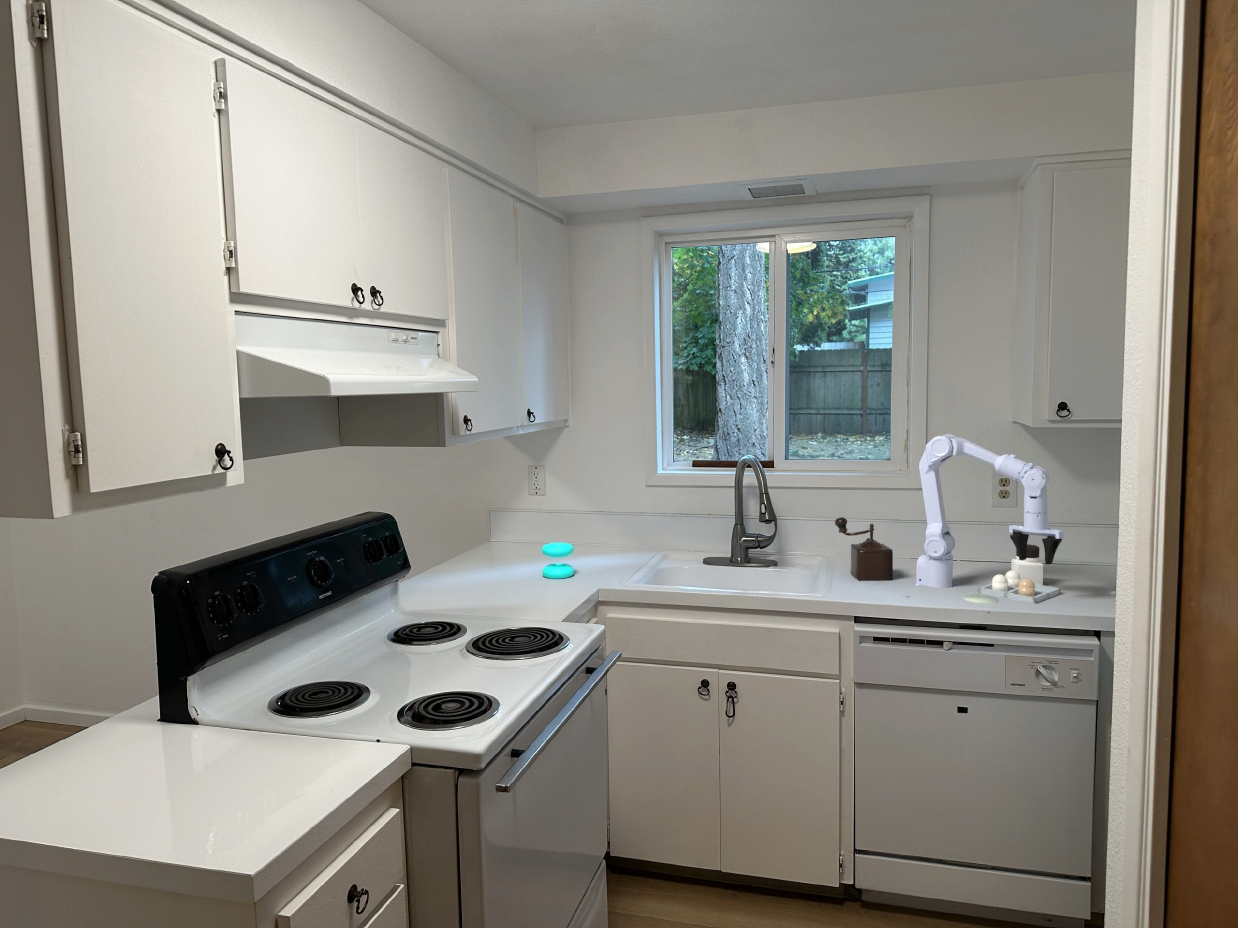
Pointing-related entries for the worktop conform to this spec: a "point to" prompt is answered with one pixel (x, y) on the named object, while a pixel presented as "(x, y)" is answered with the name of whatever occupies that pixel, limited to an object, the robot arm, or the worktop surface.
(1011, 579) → the egg white back
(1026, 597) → the carton
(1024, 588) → the egg brown
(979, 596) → the saucer
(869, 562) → the manual coffee grinder
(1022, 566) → the medicine bottle
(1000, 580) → the egg white front
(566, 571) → the cyan oval discs
